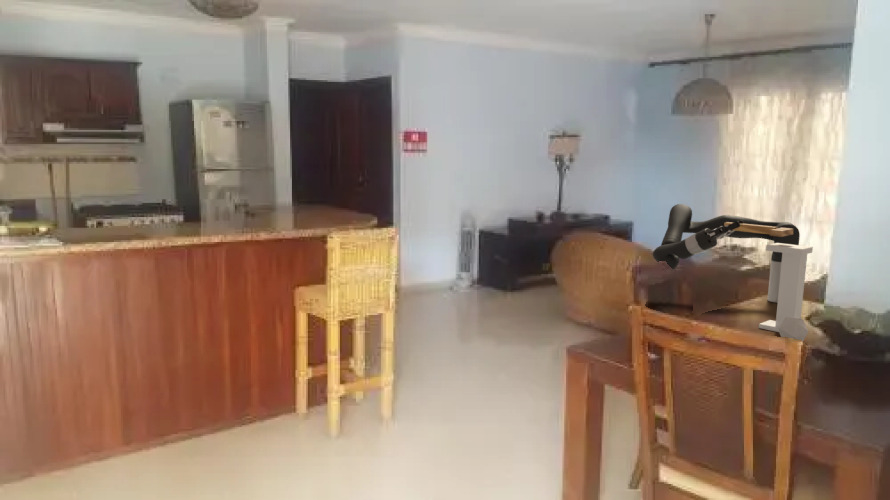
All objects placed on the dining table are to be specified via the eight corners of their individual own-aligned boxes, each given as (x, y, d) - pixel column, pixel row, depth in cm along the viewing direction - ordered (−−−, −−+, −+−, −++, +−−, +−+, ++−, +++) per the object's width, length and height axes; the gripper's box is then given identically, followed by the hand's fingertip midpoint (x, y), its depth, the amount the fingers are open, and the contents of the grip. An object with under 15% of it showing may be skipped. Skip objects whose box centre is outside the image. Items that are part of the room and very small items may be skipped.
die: (807, 342, 228) (791, 315, 232) (818, 336, 220) (802, 308, 223) (784, 352, 228) (768, 324, 231) (795, 346, 219) (778, 318, 223)
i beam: (769, 323, 249) (777, 242, 245) (804, 330, 241) (812, 246, 236) (758, 327, 243) (766, 244, 239) (793, 335, 235) (802, 249, 230)
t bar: (732, 228, 257) (732, 221, 256) (793, 234, 241) (793, 227, 240) (719, 230, 250) (720, 223, 250) (781, 236, 234) (782, 229, 234)
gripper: (713, 248, 265) (754, 230, 253) (695, 252, 256) (737, 234, 243) (705, 231, 267) (745, 212, 254) (687, 234, 257) (728, 215, 245)
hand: (741, 223), depth 249 cm, fingers closed on t bar, 3 cm apart
